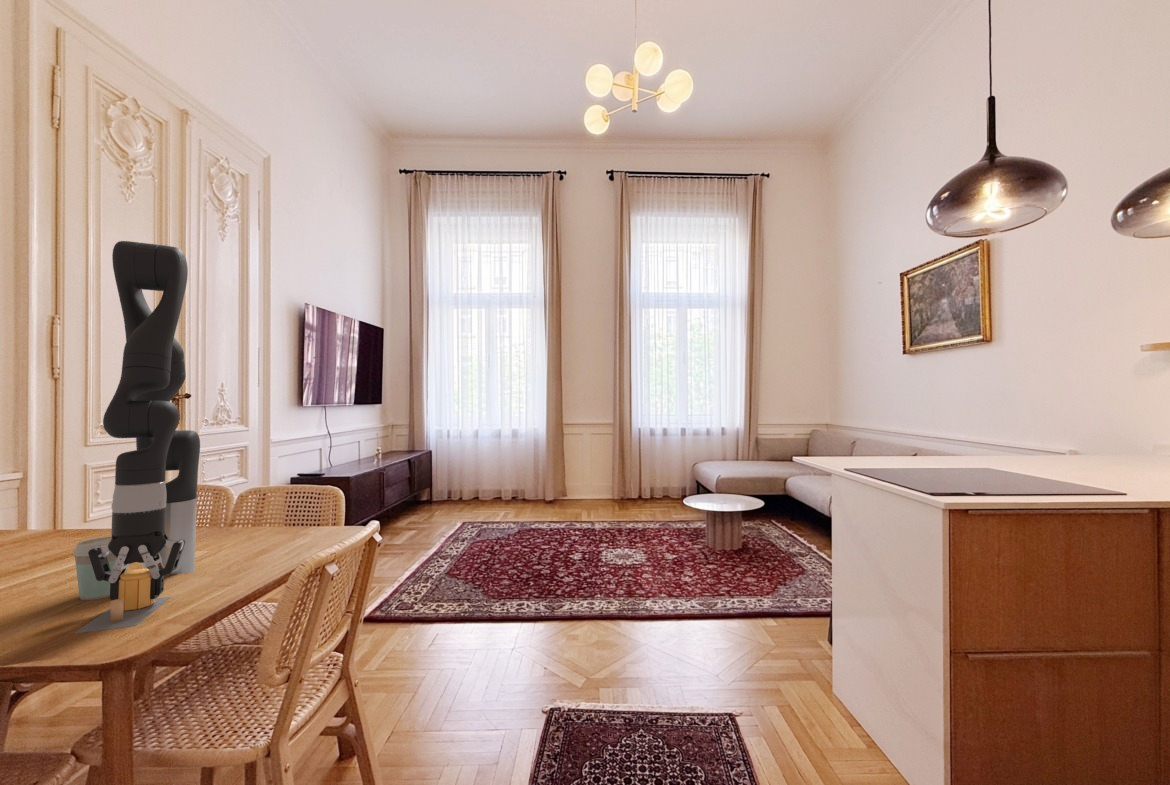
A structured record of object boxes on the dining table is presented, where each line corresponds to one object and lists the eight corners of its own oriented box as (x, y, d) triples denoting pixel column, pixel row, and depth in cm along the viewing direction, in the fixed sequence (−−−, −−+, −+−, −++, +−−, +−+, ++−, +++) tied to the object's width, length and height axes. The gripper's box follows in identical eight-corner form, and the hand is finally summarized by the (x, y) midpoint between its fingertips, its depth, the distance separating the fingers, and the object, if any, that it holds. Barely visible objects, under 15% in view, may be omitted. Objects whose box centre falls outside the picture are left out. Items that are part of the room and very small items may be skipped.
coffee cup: (126, 590, 104) (128, 533, 104) (134, 600, 98) (136, 539, 99) (67, 602, 97) (70, 541, 98) (72, 614, 92) (75, 548, 92)
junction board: (118, 610, 93) (119, 583, 93) (170, 604, 96) (171, 578, 96) (73, 642, 80) (74, 611, 80) (135, 634, 83) (136, 604, 83)
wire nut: (127, 602, 93) (128, 570, 93) (158, 598, 95) (159, 567, 95) (113, 611, 88) (114, 578, 89) (147, 608, 90) (148, 574, 90)
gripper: (194, 501, 98) (191, 588, 98) (101, 506, 93) (98, 598, 92) (178, 508, 91) (176, 601, 91) (78, 514, 86) (74, 613, 85)
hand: (136, 599), depth 92 cm, fingers closed on wire nut, 4 cm apart
